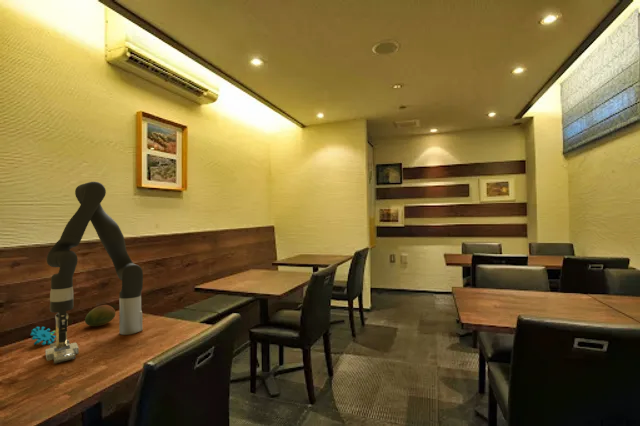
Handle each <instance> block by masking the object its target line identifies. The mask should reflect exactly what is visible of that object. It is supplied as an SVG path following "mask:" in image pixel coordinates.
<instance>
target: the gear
mask: <svg viewBox="0 0 640 426" xmlns="http://www.w3.org/2000/svg"><path fill="white" fill-rule="evenodd" d="M30 331H31V332H30V335H29V336H32V337H31V339H32V340H33V341H34V340H36V341H34V343H33V345H37V344H40V343H41V345H42V346H45V345H49V346H50V344H51V343H55V342H56V330H53V331H51V329H50V327H49V328H47V329H46V326H41V327H40V326H35V328H33V329H31V330H30ZM54 334H55V335H54Z"/></svg>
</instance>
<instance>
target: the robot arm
mask: <svg viewBox="0 0 640 426" xmlns="http://www.w3.org/2000/svg"><path fill="white" fill-rule="evenodd" d="M106 194H107V190H106V187H105V186H104V185H103V183H101V182H99V181H89V182H85V183H82V184H79V185H77V187H76V188H75V192H74V195H75V198H76V200H77V201H78V203H79V204H80V205H79V207H78V209H77V210H76V211H75V213H74V214H73V216H71V218H70V219H69V220H68V222H67V223H66V225H65V227H64V228H63V232H62V233H61V236H60V238H59V239H58V240H57V241H56V242H55V244H54V245H53V246H52V247H51V249H50V250H49V251H48V253H47V256H46V264H47V265H48V266H49V267H51V268H59V270H58V272H57V273H54V274H53V275H52V276H50V277H51V278H50V279H51V280H50V293H49V312H51V313H56V314H55V317H54V318H55V326H56V325H57V328H58V333H59V343H61V342H65V341H66V332H67V333H68V325H69V324H68V323H69V322H68V319H69V314H68V313H67V312H68V311H72V310H73V309H74V287H73V286H74V282H73V280H74V275H75V272H76V271H75V270H76V268H77V266H78V262H79V261H78V256H77V253H76V252H75V251H73V250H72V249H73V248H75V247H77V246H79V245H80V244H81V241H82V238H83V236H84V234H85V232H86V229H87V228H88V226H89V223H90V222H91V224H92V227H93V228H94V230H95V232H96V235H97V237H98V238H99V240H100V242H101V244H102V246H103V247H104V249H105V251H106V253H107V254H108V256H109V257H110V259H111V262H112V263H113V267H114V269H115V272H116V275H117V278H118V279H119V280H120V281H121V290H120V291H119V294H118V295H119V311H118V312H119V315H118V316H119V318H118V319H119V326H118V327H119V332H118V333H119V334H120V335H125V336H126V335H128V336H129V335H134V334H136V333H138V332H141V331H143V311H142V292H143V289H144V288H143V287H144V284H143V283H144V272H143V268H142V267H141V266H140V265H138V264H135V263H134V262H133V261H132V259H131V258H130V256H129V253H128V251H127V247H126V241H125V237H124V234H123V232H122V230H121V227H120V226H119V224H118V223H117V222H116V220H114V219H113V218H112V217H111V216H110V215H109V214H108V213H107V212H106V210H104V208H103V206H102V205H101V203H102V202H103V200H104V198H105V196H106ZM61 328H65V329H63V330H61Z"/></svg>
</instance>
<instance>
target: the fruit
mask: <svg viewBox="0 0 640 426" xmlns="http://www.w3.org/2000/svg"><path fill="white" fill-rule="evenodd" d="M115 317H116V310H115V308H114V307H112V306H111V305H109V304H102V305H97V306H96V307H94V308H93V309H91V310H90V311H89V312H88V313H87V314H86V316H85V317H84V323H85V325H87V326H90V327H100V326H103V325H107V324H108V323H109V322H111V321H113V320H114V318H115Z"/></svg>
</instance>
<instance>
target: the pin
mask: <svg viewBox="0 0 640 426" xmlns="http://www.w3.org/2000/svg"><path fill="white" fill-rule="evenodd" d="M63 329H65V328H61V330H63ZM55 331H56V332H55V336H56V337H55V343H56V348H62V347H65V346H67V340H68V331H67V332H66V341H65V342H61V343H59V333H58V328H57V325H56V324H55Z"/></svg>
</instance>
